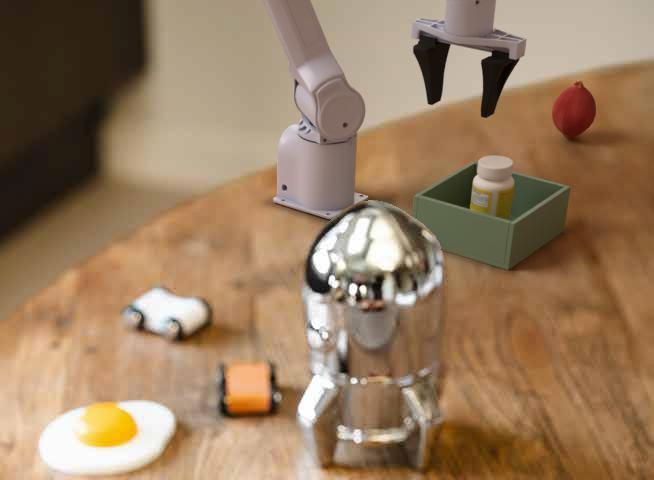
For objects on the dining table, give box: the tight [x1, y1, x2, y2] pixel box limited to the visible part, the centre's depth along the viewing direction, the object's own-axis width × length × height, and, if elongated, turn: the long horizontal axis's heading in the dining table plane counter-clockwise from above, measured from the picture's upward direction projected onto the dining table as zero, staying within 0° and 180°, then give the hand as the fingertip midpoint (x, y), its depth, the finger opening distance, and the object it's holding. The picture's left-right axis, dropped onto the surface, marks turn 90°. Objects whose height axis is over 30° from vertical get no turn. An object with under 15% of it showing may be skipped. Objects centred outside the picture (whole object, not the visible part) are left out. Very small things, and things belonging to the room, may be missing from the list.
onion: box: [551, 79, 597, 140], centre depth 164 cm, size 6×6×8 cm
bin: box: [411, 160, 572, 271], centre depth 142 cm, size 13×13×6 cm
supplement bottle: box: [470, 154, 514, 221], centre depth 141 cm, size 5×5×8 cm
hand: (460, 108), depth 148 cm, fingers open, 7 cm apart
